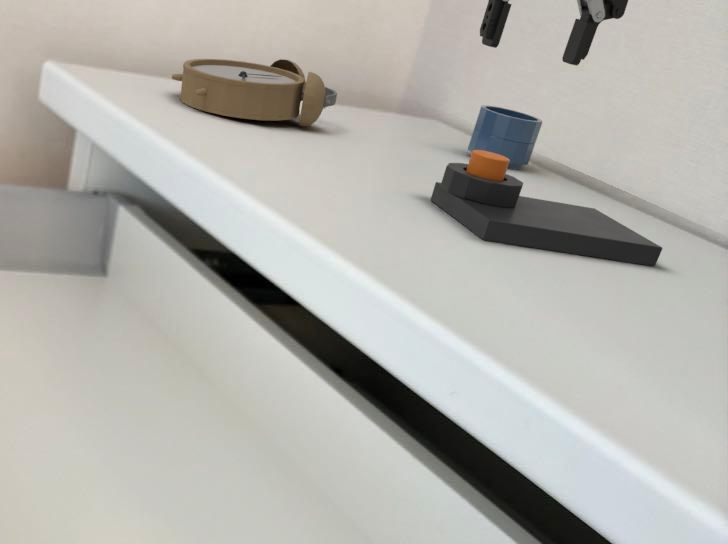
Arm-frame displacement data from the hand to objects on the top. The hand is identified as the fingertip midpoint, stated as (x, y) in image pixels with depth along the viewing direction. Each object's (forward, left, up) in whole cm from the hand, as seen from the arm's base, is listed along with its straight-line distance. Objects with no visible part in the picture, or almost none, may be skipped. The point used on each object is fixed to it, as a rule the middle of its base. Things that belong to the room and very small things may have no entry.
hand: (530, 54), depth 101 cm
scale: (+9, +27, -10) cm, 30 cm away
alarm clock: (+24, -3, -10) cm, 26 cm away
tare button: (+13, +24, -7) cm, 29 cm away
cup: (0, 0, -10) cm, 10 cm away
